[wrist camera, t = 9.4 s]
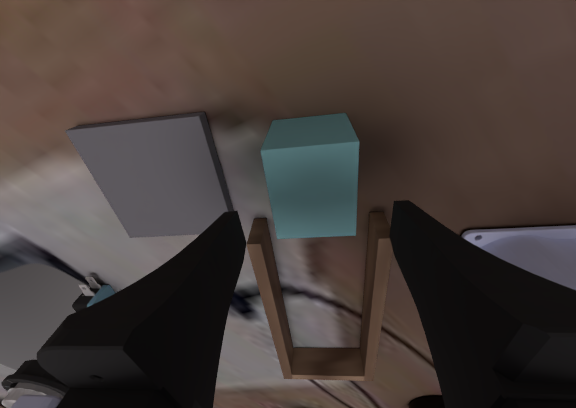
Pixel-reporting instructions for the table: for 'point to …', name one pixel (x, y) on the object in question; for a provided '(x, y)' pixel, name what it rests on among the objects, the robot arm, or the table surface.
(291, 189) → the block
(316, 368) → the channel
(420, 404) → the supplement bottle
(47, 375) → the push button
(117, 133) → the pad
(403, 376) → the table surface
